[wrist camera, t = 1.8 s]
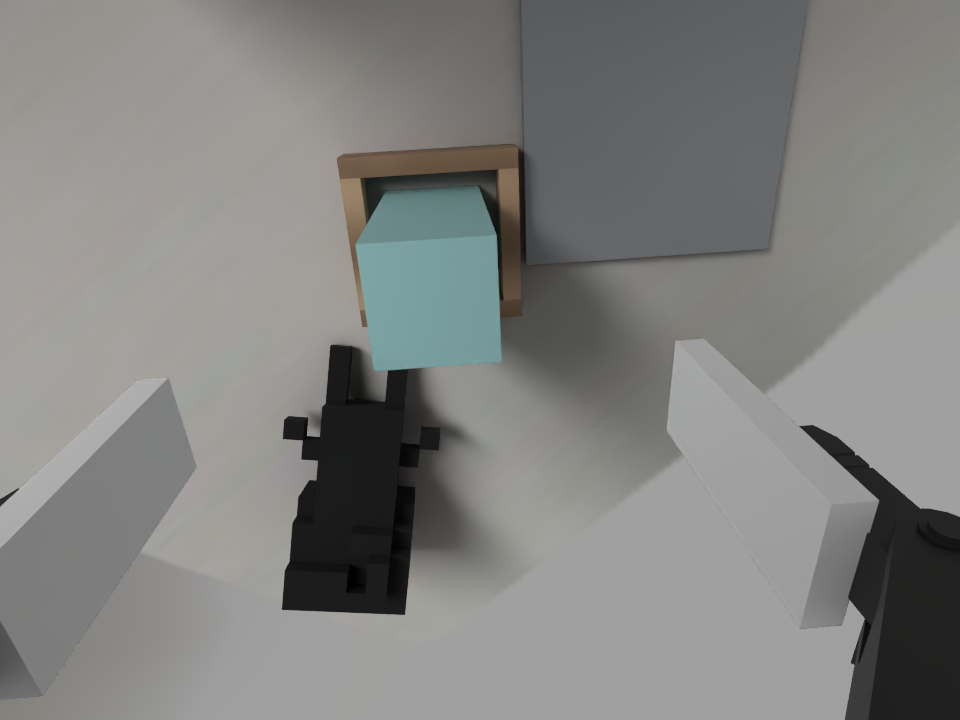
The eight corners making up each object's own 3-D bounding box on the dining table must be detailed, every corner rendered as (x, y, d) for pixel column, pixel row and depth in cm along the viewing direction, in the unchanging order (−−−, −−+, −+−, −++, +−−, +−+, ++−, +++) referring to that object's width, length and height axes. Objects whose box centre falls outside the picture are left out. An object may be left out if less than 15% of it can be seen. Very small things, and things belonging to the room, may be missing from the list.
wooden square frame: (343, 154, 30) (336, 158, 28) (513, 143, 30) (518, 146, 28) (366, 314, 34) (362, 327, 32) (517, 303, 34) (521, 315, 32)
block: (386, 191, 31) (355, 244, 20) (477, 185, 31) (496, 235, 20) (396, 279, 33) (374, 371, 22) (482, 273, 33) (501, 361, 22)
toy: (450, 361, 31) (424, 626, 32) (444, 351, 39) (424, 563, 40) (275, 345, 30) (255, 619, 31) (306, 338, 38) (288, 556, 39)
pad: (519, -26, 27) (521, -28, 27) (808, -41, 27) (815, -43, 27) (525, 262, 33) (526, 265, 33) (762, 246, 33) (767, 248, 33)
